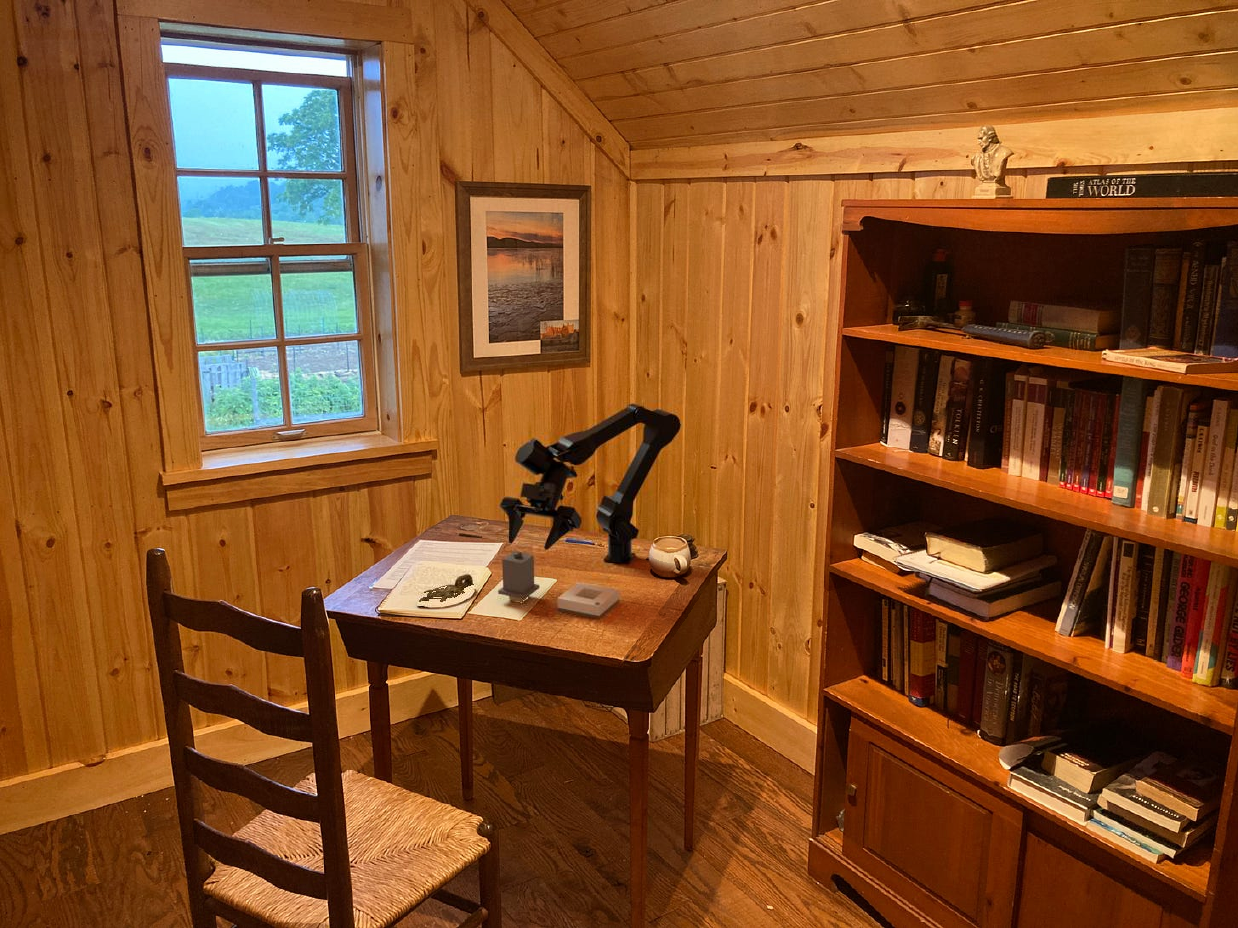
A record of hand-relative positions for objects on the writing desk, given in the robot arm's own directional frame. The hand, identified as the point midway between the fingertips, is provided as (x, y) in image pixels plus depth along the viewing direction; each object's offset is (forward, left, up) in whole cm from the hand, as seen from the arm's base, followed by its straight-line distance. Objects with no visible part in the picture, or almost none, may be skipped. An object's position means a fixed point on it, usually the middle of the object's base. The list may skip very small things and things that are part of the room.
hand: (527, 545), depth 220 cm
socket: (+3, +16, -11) cm, 19 cm away
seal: (+8, -16, -12) cm, 22 cm away
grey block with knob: (+4, 0, -11) cm, 12 cm away
